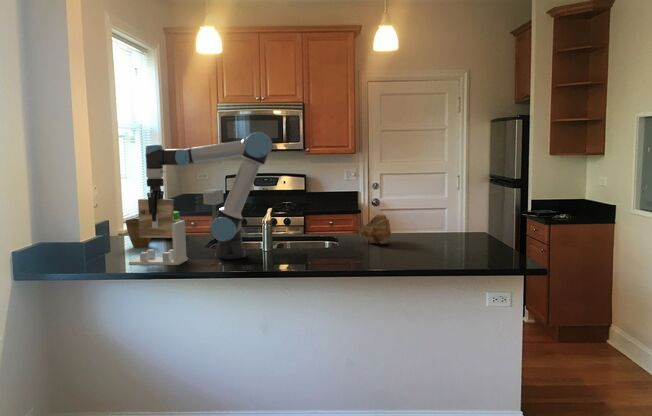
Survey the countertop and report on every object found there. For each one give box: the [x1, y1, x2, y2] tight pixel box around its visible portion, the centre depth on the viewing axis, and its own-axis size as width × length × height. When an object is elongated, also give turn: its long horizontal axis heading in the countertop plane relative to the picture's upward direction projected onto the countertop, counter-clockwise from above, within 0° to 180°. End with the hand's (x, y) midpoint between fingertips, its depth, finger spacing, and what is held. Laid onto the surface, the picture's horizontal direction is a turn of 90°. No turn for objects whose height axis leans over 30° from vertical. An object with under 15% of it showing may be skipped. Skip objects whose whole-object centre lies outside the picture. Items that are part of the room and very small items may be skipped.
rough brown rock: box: [359, 214, 392, 245], centre depth 301 cm, size 23×17×15 cm
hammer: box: [202, 188, 224, 240], centre depth 317 cm, size 15×8×30 cm, turn 172°
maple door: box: [137, 198, 175, 239], centre depth 251 cm, size 4×16×18 cm, turn 83°
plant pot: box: [125, 218, 152, 249], centre depth 293 cm, size 15×15×16 cm
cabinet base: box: [128, 219, 189, 266], centre depth 253 cm, size 12×24×19 cm, turn 83°
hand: (156, 227), depth 252 cm, fingers closed on maple door, 3 cm apart
